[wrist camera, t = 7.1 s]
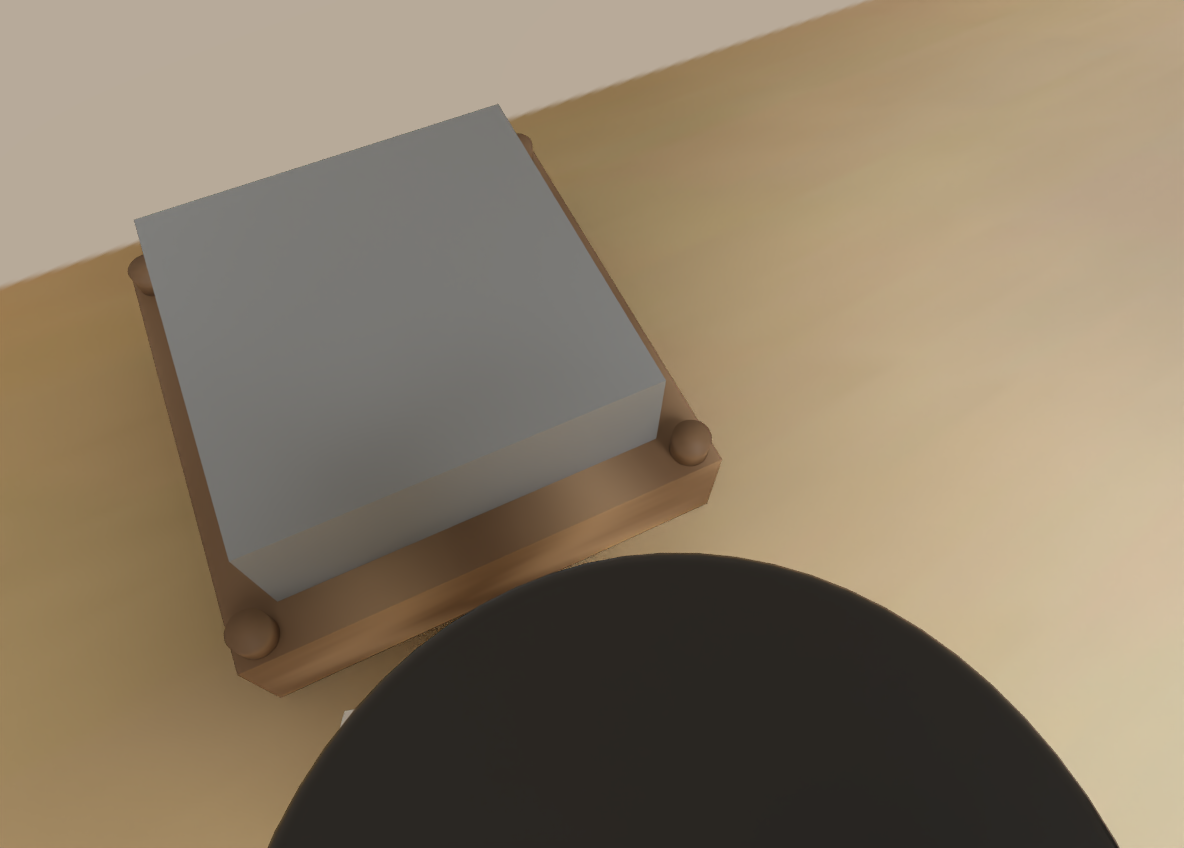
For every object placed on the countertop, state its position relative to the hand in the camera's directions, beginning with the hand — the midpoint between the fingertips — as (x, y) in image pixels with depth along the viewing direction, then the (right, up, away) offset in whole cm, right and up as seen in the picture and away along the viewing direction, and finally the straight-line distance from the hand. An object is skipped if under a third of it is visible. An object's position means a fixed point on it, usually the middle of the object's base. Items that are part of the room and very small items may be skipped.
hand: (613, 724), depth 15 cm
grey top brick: (-6, +8, +11) cm, 15 cm away
